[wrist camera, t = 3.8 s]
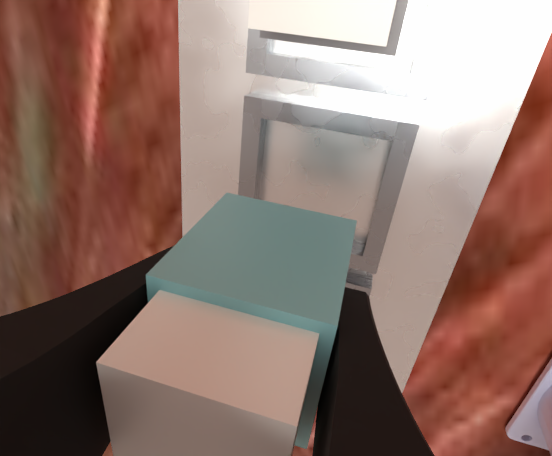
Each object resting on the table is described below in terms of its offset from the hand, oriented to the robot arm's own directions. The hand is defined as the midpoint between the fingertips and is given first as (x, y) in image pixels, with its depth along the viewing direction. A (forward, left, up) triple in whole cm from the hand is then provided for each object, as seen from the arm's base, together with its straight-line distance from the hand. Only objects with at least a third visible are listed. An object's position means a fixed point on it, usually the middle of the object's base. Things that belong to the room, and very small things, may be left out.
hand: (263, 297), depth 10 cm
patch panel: (0, 0, -9) cm, 9 cm away
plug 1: (0, 0, -2) cm, 2 cm away
